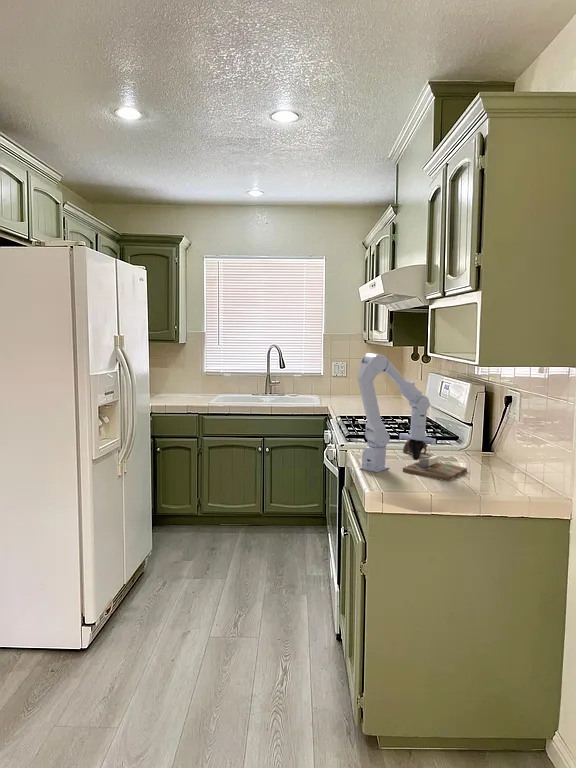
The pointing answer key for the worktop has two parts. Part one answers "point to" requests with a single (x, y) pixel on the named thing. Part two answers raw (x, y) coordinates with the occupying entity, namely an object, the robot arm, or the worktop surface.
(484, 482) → the worktop surface
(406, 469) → the brown flat square board
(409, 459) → the worktop surface
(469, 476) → the worktop surface
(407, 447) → the pottery mug
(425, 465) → the peg lever
